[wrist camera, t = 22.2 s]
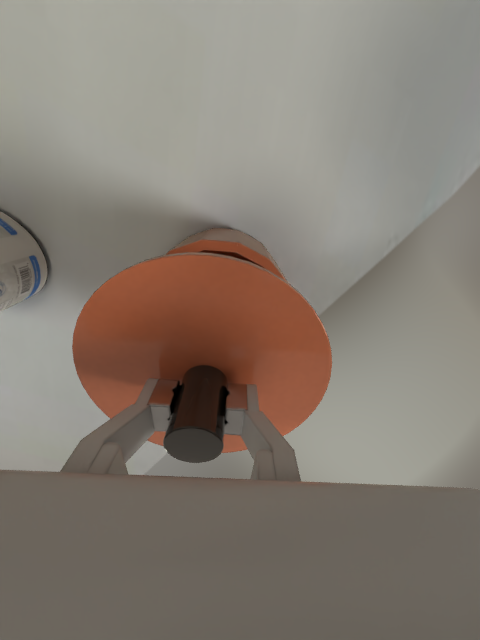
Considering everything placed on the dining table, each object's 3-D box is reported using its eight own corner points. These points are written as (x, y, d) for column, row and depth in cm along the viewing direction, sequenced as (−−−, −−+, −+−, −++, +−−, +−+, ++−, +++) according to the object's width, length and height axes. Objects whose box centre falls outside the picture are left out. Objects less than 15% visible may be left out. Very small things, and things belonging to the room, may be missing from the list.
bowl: (288, 234, 22) (310, 248, 15) (269, 337, 28) (279, 380, 21) (162, 222, 21) (128, 232, 14) (171, 330, 27) (149, 372, 20)
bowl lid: (360, 262, 10) (446, 307, 6) (296, 442, 16) (316, 522, 12) (49, 235, 9) (-102, 263, 5) (112, 433, 16) (68, 515, 12)
